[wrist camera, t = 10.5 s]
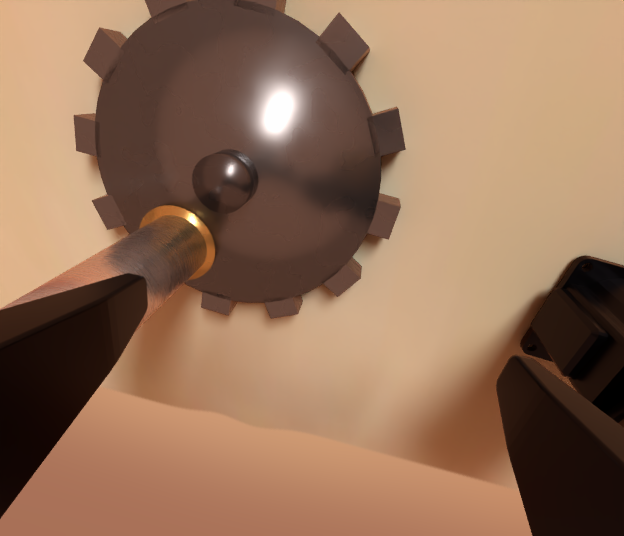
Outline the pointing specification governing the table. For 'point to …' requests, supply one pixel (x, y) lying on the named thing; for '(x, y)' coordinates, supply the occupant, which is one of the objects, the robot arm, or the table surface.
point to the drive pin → (139, 262)
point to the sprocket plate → (243, 145)
